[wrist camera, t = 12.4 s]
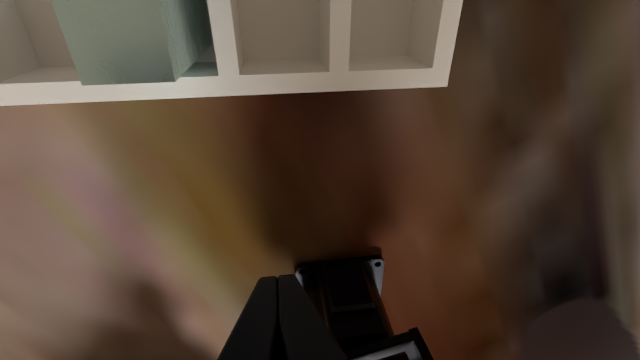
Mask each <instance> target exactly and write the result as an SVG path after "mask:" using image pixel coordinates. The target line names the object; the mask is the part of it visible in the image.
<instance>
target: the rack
mask: <svg viewBox="0 0 640 360" xmlns="http://www.w3.org/2000/svg"><path fill="white" fill-rule="evenodd" d="M462 3H463V0H205V5H206V11H207V17H208V24H209V30H210V36H211V42H212V44H211V45H210V46H209V47H208V49H207V50H206V51H205V52H204V53H203V54H202V55H201V56H200V57H199V58H198V59H197V60H196V61H195V62H194V63H193V64H192V65H191V66H190V67H189V68H188V69H187V70H186V71H185V72H184V73H183V74H182V76H181V77H180V78H179V79H178V80H177V81H176V82H161V83H136V84H111V85H86V86H82V84H81V82H80V79H79V76H78V73H77V71H76V68H75V65H74V62H73V60H72V57H71V54H70V52H69V49H68V46H67V43H66V41H65V38H64V35H63V32H62V30H61V27H60V24H59V22H58V19H57V16H56V13H55V11H54V8H53V5H52V2H51V0H0V106H9V105H32V104H55V103H78V102H101V101H125V100H148V99H171V98H194V97H217V96H240V95H263V94H286V93H309V92H332V91H356V90H379V89H402V88H425V87H447V84H448V78H449V73H450V67H451V62H452V57H453V51H454V46H455V41H456V35H457V30H458V24H459V19H460V14H461V8H462Z"/></svg>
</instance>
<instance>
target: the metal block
mask: <svg viewBox="0 0 640 360" xmlns="http://www.w3.org/2000/svg"><path fill="white" fill-rule="evenodd" d="M51 2H52V5H53V8H54V11H55V13H56V16H57V19H58V22H59V24H60V27H61V30H62V32H63V35H64V38H65V41H66V43H67V46H68V49H69V52H70V54H71V57H72V60H73V62H74V65H75V68H76V71H77V73H78V76H79V79H80V82H81V84H82V86H86V85H111V84H136V83H161V82H176V81H177V80H178V79H179V78H180V77H181V76H182V74H183V73H184V72H185V71H186V70H187V69H188V68H189V67H190V66H191V65H192V64H193V63H194V62H195V61H196V60H197V59H198V58H199V57H200V56H201V55H202V54H203V53H204V52H205V51H206V50H207V49H208V47H209V46H210V45H211V44H212V42H211V36H210V30H209V24H208V17H207V11H206V5H205V0H51Z"/></svg>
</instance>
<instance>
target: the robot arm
mask: <svg viewBox="0 0 640 360" xmlns="http://www.w3.org/2000/svg"><path fill="white" fill-rule="evenodd" d="M376 262H378V263H376ZM301 270H304V271H301ZM295 272H296V276H295V275H294V274H288V275H280V276H278V279H277V277H276V276H269V277H261V278H260V279H259V280H258V282H257V284H256V286H255V288H254V290H253V292H252V293H251V295H250V297H249V299H248V301H247V303H246V305H245V307H244V309H243V311H242V313H241V315H240V317H239V318H238V320H237V322H236V324H235V326H234V328H233V330H232V332H231V334H230V336H229V338H228V340H227V342H226V344H225V345H224V347H223V349H222V351H221V353H220V355H219V357H218V359H217V360H434V359H433V357H432V356H431V354H430V352H429V350H428V348H427V346H426V344H425V342H424V340H423V338H422V336H421V334H420V332H419V330H418V328H417V327H415V328H412V329H409V331H408V332H405V333H401V334H398V335H394V333H393V330H392V327H391V324H390V322H389V319H388V316H387V313H386V311H385V308H384V305H383V302H382V300H381V297H380V296H381V288H382V280H383V272H384V260H383V258H382V257H381V256H367V257H357V258H348V259H338V260H328V261H318V262H308V263H301V264H298V265H297V266H296V268H295Z"/></svg>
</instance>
